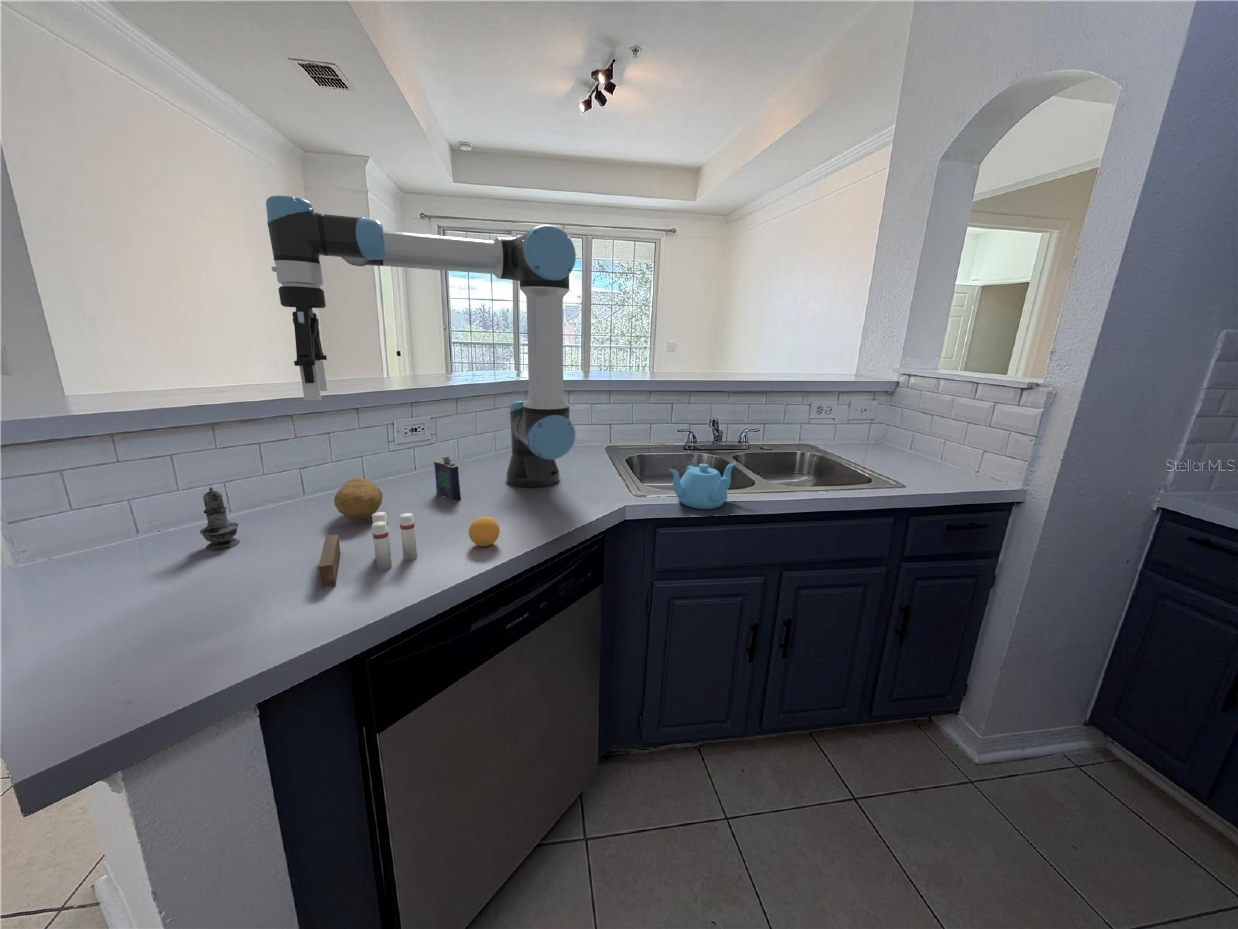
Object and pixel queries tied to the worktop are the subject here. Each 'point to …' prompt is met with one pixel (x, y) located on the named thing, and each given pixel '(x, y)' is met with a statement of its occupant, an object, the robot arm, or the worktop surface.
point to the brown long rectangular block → (329, 561)
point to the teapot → (702, 486)
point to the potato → (358, 499)
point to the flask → (447, 479)
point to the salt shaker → (218, 523)
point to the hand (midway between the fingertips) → (316, 395)
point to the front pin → (408, 536)
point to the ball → (484, 531)
